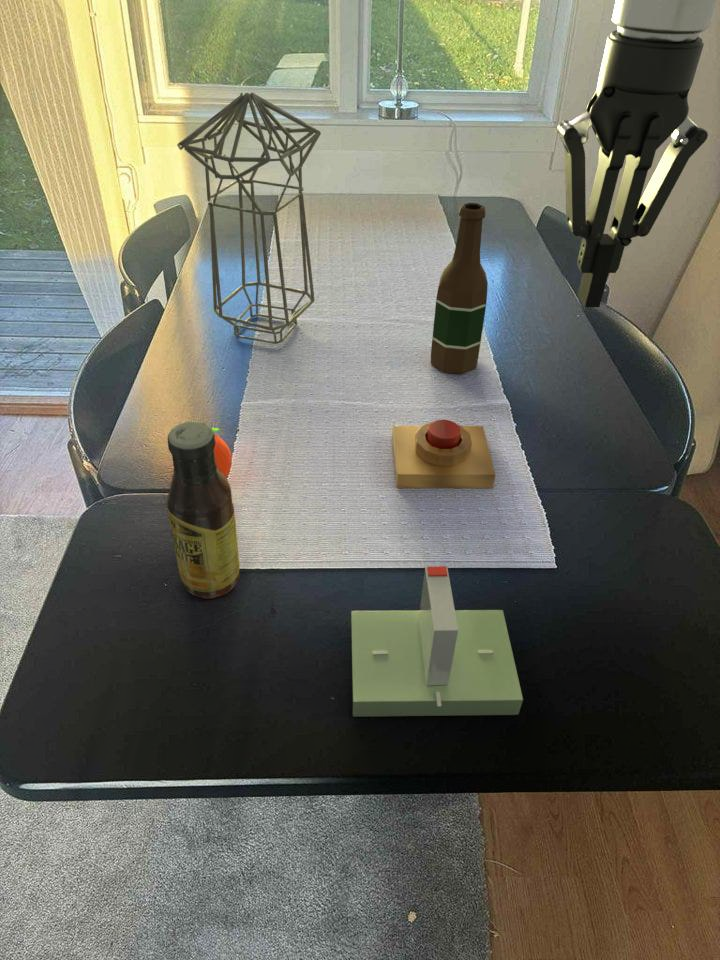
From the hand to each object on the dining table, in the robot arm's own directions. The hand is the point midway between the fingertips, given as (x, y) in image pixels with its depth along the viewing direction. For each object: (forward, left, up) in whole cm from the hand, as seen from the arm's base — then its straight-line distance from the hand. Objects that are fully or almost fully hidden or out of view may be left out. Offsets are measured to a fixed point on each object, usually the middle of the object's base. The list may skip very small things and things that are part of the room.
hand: (588, 300), depth 72 cm
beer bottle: (+26, -13, -25) cm, 38 cm away
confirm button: (+11, +7, -21) cm, 25 cm away
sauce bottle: (+14, +40, -25) cm, 49 cm away
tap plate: (-9, +31, -24) cm, 40 cm away
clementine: (+28, +31, -25) cm, 49 cm away
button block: (+11, +7, -24) cm, 28 cm away
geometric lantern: (+53, +3, -25) cm, 59 cm away
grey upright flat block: (-9, +31, -22) cm, 39 cm away
